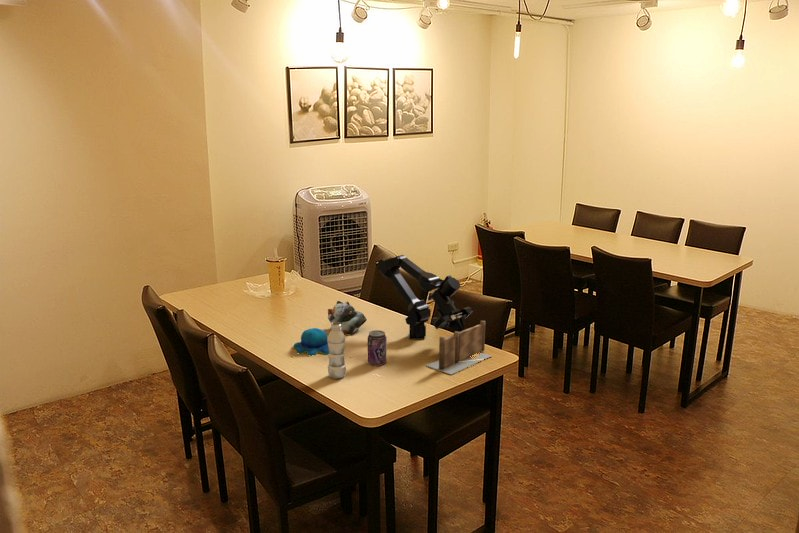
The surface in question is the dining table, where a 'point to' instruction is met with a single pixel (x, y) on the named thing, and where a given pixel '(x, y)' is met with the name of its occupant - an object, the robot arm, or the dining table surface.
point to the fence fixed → (448, 350)
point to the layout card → (459, 364)
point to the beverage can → (377, 347)
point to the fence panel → (471, 341)
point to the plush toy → (313, 342)
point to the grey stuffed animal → (346, 317)
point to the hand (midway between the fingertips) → (465, 335)
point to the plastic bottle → (336, 351)
